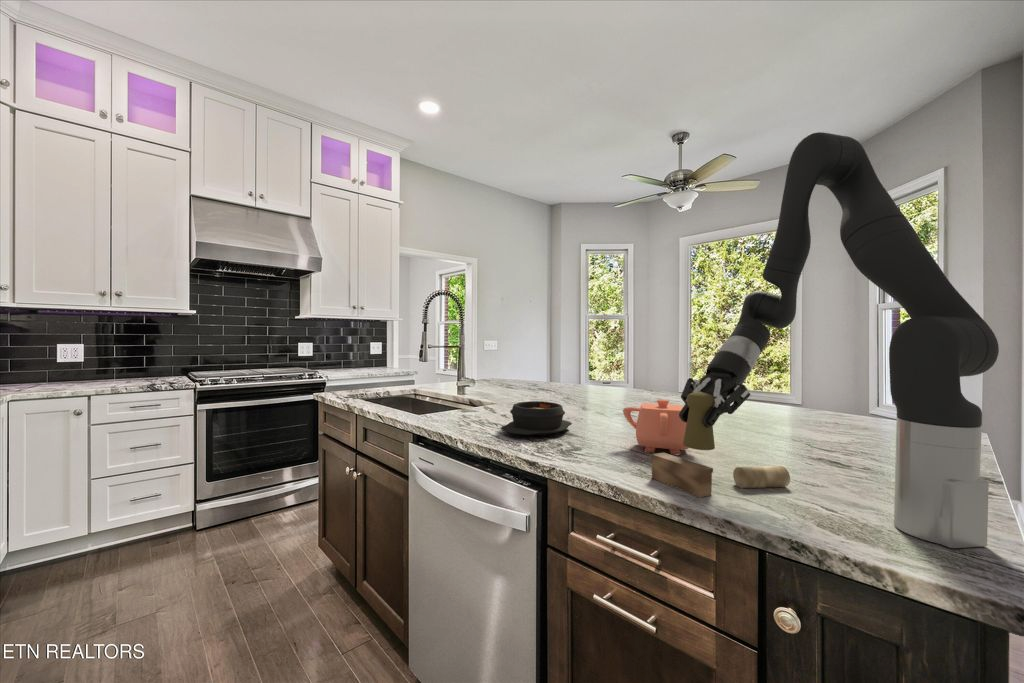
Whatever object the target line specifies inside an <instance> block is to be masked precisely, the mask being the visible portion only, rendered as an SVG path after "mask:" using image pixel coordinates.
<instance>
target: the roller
mask: <svg viewBox="0 0 1024 683" xmlns="http://www.w3.org/2000/svg"><path fill="white" fill-rule="evenodd" d="M732 472H733V473H732V478H733V481H734V484H735V485H736V486H737V487H739V488H740V487H741V488H740V489H753V488H754V489H755V488H756V489H757V488H758V489H760V488H761V489H762V488H785V487H787V486H789V485H790V482H791V475H790V473H789V471H788V469H787V468H786V466H784V465H772V466H771V465H769V466H767V465H766V466H761V465H760V466H738V467H735V468H734V469H733V471H732Z"/></svg>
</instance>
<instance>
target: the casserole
mask: <svg viewBox="0 0 1024 683" xmlns="http://www.w3.org/2000/svg"><path fill="white" fill-rule="evenodd" d="M509 412H510V414H511V416H512V421H511V422H509V423H507V424H505V425H502V426H501V427H500V430H501V431H504V432H507V433H509V434H514V435H515V434H516V435H521V436H522V435H524V436H534V435H545V436H550V435H554V434H557V433H560V432H563V431H566V430H567V429H568V428H569V427H570V426H571V425H573V423H572V422H570V420H564V419H563V417H564V415H565V414H566V411H565V410H564V409H563V405H562V404H559V403H556V402H549V401H539V400H538V401H535V400H531V401H530V400H529V401H521V402H517V403H514V404H513V405H512V408H511V409H510V410H509Z"/></svg>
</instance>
